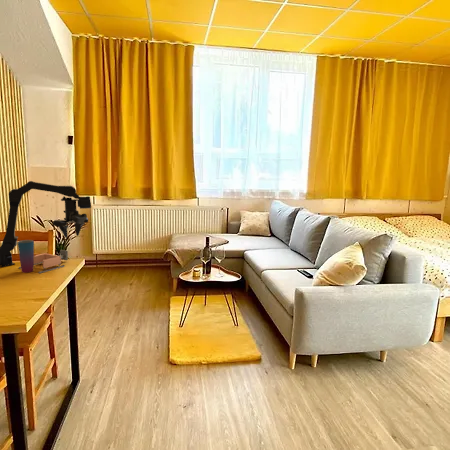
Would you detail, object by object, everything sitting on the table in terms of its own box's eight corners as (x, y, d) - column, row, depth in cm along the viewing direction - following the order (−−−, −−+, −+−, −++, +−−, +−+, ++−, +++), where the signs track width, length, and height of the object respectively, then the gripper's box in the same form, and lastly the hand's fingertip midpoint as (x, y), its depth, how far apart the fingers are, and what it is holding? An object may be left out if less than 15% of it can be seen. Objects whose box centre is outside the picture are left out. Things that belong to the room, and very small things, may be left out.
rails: (18, 268, 167) (18, 267, 167) (44, 261, 180) (44, 260, 180) (39, 273, 161) (39, 272, 160) (64, 266, 173) (64, 265, 173)
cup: (38, 269, 166) (37, 240, 164) (29, 273, 160) (27, 243, 157) (25, 268, 167) (24, 239, 165) (16, 272, 160) (14, 242, 158)
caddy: (57, 258, 185) (57, 248, 184) (72, 262, 180) (72, 251, 179) (28, 266, 170) (28, 255, 169) (44, 269, 165) (44, 258, 164)
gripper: (66, 211, 170) (67, 241, 173) (94, 208, 187) (95, 235, 189) (51, 209, 175) (53, 238, 178) (80, 207, 192) (81, 233, 194)
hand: (71, 236), depth 185 cm, fingers open, 7 cm apart
